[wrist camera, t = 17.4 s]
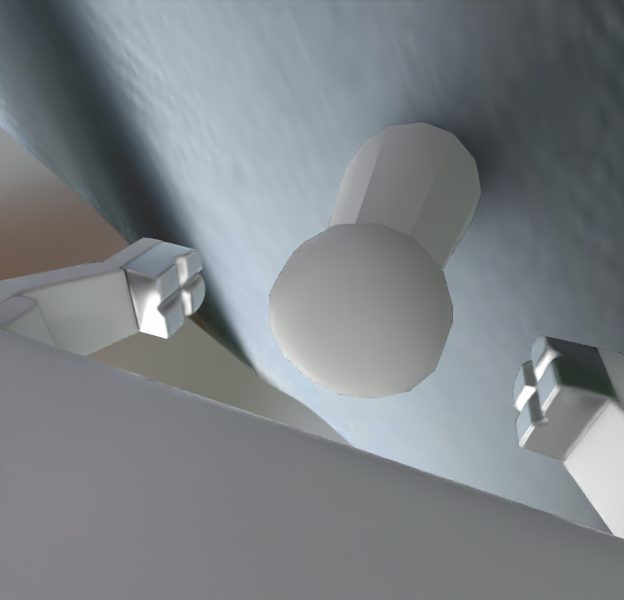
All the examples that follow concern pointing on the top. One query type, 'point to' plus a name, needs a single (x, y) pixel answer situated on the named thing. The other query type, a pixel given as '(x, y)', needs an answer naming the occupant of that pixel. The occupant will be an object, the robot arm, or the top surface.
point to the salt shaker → (379, 266)
